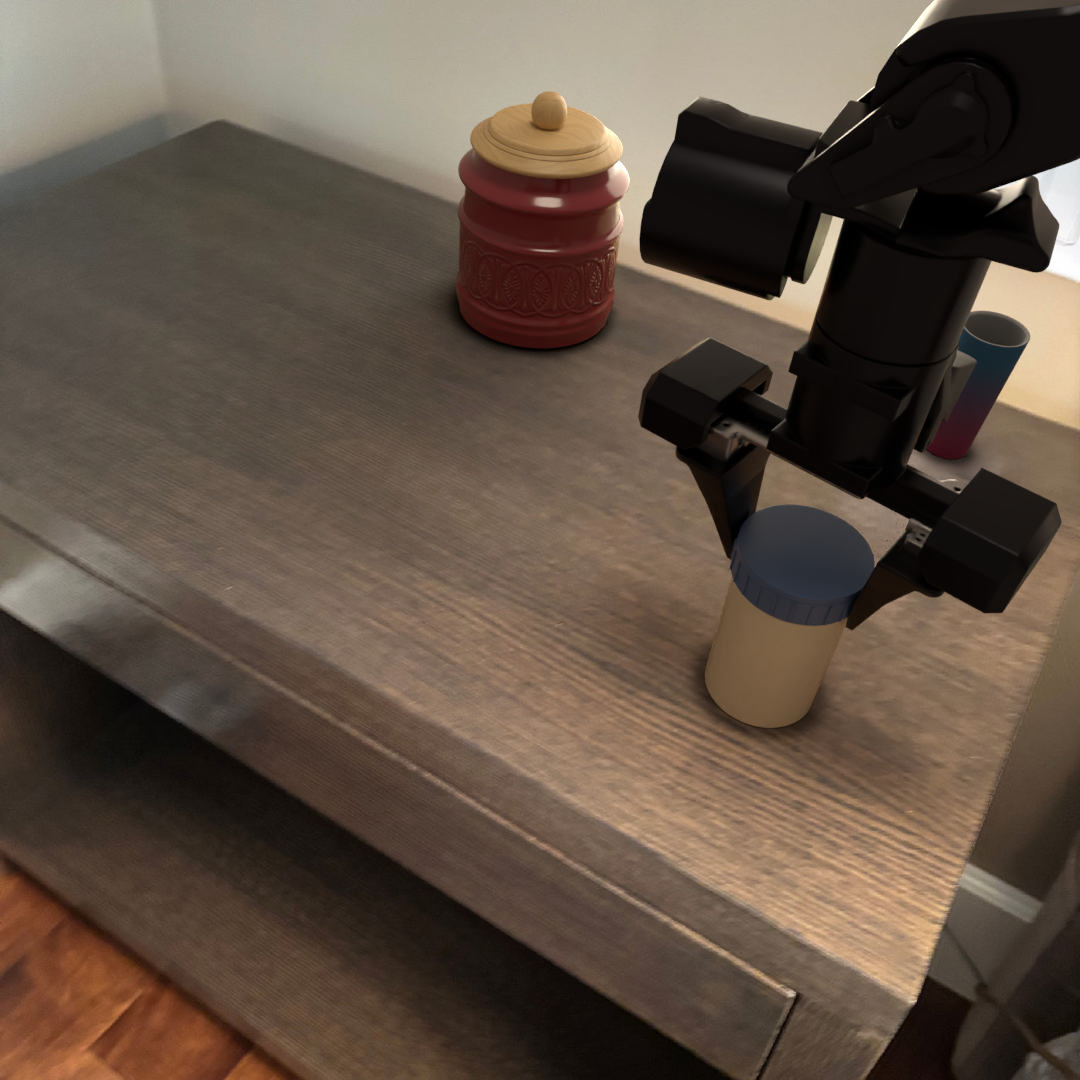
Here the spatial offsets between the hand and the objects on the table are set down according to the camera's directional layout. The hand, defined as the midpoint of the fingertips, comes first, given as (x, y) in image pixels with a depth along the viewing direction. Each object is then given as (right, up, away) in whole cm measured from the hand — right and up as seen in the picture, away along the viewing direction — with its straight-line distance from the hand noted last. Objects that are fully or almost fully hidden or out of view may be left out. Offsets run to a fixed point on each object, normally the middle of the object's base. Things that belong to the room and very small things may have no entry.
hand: (792, 589), depth 53 cm
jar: (-1, -6, +5) cm, 8 cm away
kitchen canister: (-14, +22, +33) cm, 42 cm away
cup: (+17, +9, +23) cm, 30 cm away
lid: (0, +2, -2) cm, 2 cm away
